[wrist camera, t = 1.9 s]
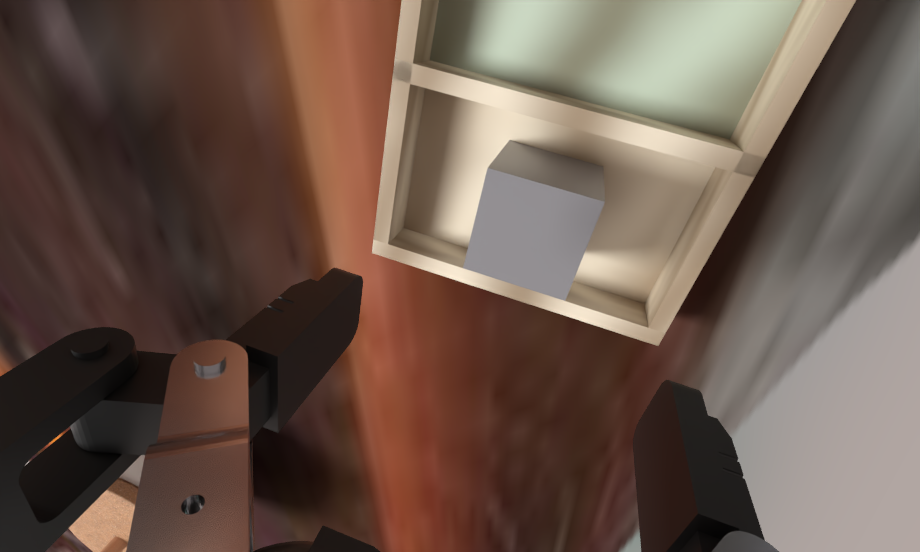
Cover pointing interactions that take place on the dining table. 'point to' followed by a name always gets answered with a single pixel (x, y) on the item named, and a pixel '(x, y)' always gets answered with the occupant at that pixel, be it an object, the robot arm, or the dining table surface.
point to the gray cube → (535, 218)
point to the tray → (594, 130)
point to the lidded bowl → (111, 514)
